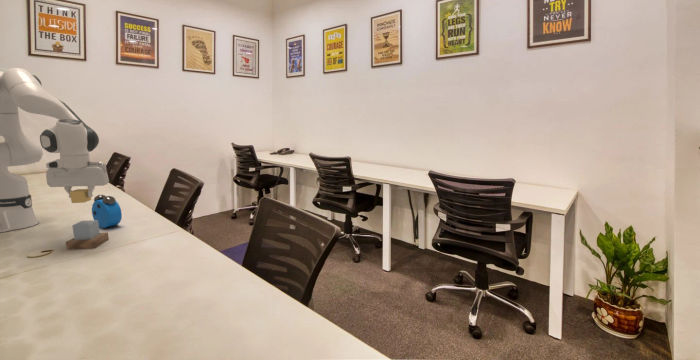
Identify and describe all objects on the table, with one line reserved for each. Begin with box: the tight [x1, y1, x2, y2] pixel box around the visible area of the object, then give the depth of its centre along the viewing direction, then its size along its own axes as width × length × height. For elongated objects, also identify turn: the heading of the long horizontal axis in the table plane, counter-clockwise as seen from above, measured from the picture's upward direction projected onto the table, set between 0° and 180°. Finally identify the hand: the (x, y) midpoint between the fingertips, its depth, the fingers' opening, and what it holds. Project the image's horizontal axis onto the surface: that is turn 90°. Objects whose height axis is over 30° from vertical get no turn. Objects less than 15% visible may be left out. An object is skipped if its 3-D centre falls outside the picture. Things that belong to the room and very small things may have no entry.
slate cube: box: [72, 219, 101, 240], centre depth 138 cm, size 6×6×6 cm
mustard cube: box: [70, 188, 92, 204], centre depth 135 cm, size 4×4×4 cm
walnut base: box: [65, 232, 109, 251], centre depth 139 cm, size 10×10×3 cm
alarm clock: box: [91, 194, 123, 229], centre depth 159 cm, size 13×6×15 cm, turn 65°
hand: (81, 197), depth 135 cm, fingers closed on mustard cube, 4 cm apart
